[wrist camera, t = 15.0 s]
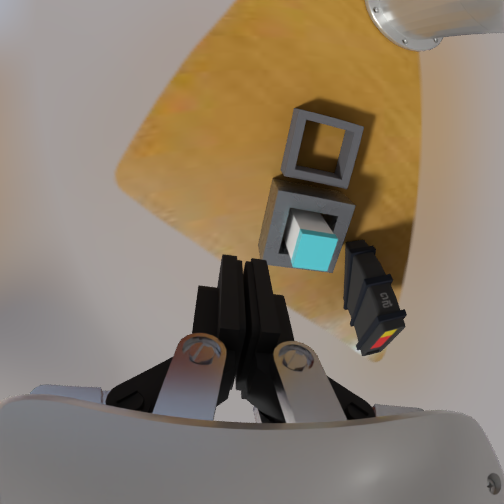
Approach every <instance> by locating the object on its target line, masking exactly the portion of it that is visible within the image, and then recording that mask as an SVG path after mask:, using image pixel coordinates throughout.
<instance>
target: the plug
mask: <svg viewBox="0 0 504 504" xmlns="http://www.w3.org/2000/svg"><path fill="white" fill-rule="evenodd" d="M283 237H284V240H285V243H286V246H287V249H288V252H289V255H290V258H291V263H292V266H293V267H296V268H304V269H312V270H321V271H327V270H328V267H329V264H330V262H331V259H332V256H333V253H334V250H335V247H336V244H337V241H338V238H337V237H336V235H335V234H334V233H333V232H332V230H331V229H330V227H329V226H328V224H327V223H326V221H325V220H324V218H323V217H322V216H321V214H320V213H318V212H313V211H307V210H301V209H296V208H290V210H289V214H288V218H287V222H286V226H285V229H284V233H283Z"/></svg>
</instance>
